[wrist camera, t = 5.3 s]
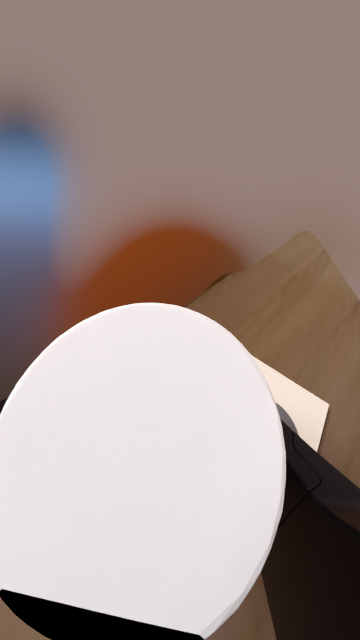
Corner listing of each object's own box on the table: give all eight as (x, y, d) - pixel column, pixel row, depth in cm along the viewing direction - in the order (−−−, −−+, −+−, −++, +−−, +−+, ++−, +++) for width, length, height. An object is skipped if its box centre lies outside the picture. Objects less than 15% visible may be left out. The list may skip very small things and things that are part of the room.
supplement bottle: (195, 355, 16) (285, 263, 4) (203, 438, 14) (464, 755, 2) (122, 359, 15) (-13, 260, 4) (117, 447, 13) (-359, 1065, 1)
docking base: (278, 559, 16) (287, 573, 15) (174, 477, 18) (175, 484, 17) (320, 403, 22) (330, 404, 21) (238, 351, 24) (243, 349, 22)
